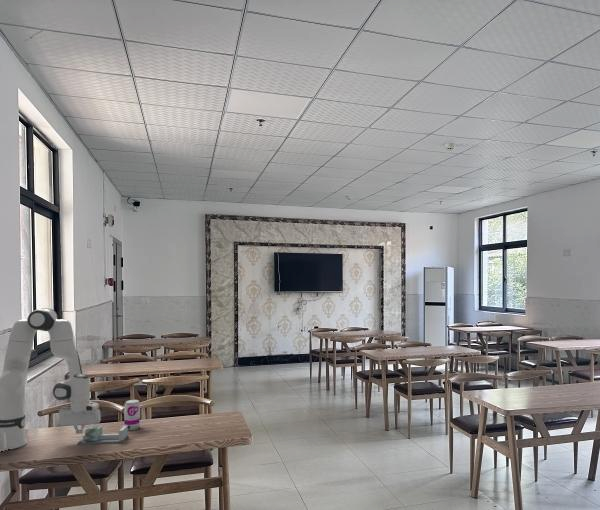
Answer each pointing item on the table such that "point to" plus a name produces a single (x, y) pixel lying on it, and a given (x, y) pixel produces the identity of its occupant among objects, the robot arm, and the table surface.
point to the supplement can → (132, 414)
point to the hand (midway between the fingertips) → (79, 433)
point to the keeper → (93, 433)
